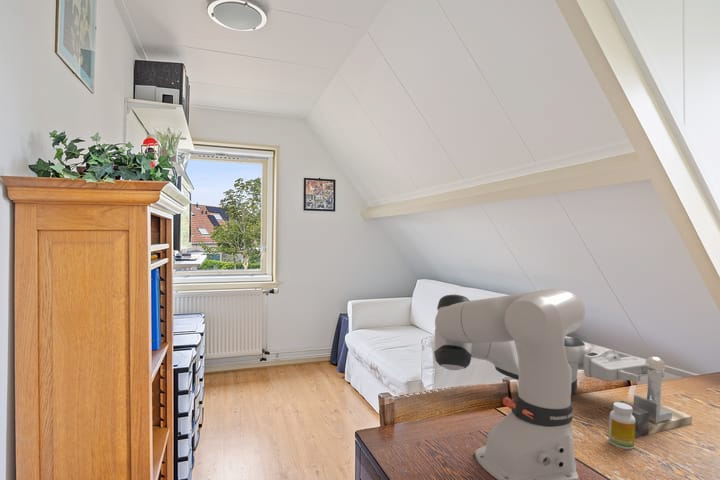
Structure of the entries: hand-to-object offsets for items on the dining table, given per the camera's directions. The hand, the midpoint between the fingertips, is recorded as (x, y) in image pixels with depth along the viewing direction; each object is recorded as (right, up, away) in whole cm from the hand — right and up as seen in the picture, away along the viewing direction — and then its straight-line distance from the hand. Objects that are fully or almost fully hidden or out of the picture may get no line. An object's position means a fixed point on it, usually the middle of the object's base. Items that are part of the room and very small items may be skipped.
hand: (650, 376), depth 110 cm
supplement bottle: (-15, -13, -11) cm, 23 cm away
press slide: (0, -11, -1) cm, 11 cm away
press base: (0, -13, 0) cm, 13 cm away
